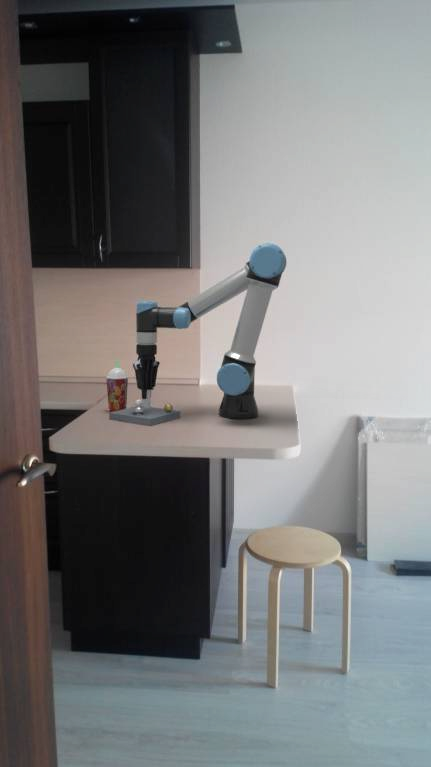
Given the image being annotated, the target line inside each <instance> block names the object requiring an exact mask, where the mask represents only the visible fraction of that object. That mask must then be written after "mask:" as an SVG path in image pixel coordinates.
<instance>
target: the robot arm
mask: <svg viewBox="0 0 431 767" xmlns="http://www.w3.org/2000/svg"><path fill="white" fill-rule="evenodd" d="M286 267H287V258H286V255H285V253H284V251H283V249H282V247H280V246H278V245H277V244H274V243H270V242H268V243H266V242H265V243H262V244H259V245H258V246H257V247H255V249H253V250H252V252H251V254H250V256H249V260H248V261H247V262H245V265H244V267H243V268H241V269H240V270H238V271H236V272H234V273H233V274H231V275H230V276H228V277H227V278H225V279H223V280H221V281H219V282H218V283H216V284H214V285H212V286H210V288H208V289H206V290H205V291H203V292H201V293H200V294H197V295H196V296H194V297H192V298H191V299H190V300H187V301H186V302H184V303H183V304H181V305H179V306H177V307H176V306H175V307H174V306H172V307H167V306H165V307H162V306H158V302H157V301H152V300H151V301H147V300H146V301H145V300H142V301H141V300H139V301H138V302H137V303H136V313H135V316H136V318H135V319H136V323H135V324H136V325H135V326H136V327H135V328H136V341H135V342H136V343H137V344H136V347H135V348H136V355H138V358H137V360H136V362H135V363H133V364H132V367H133V369H134V375H135V380H136V387H137V389H138V390H141V400H142V407H145V408H150V407H151V397H152V390H154V389H155V387H156V383H157V382H156V381H157V377H158V369H159V366H160V363H161V362H160V361H157V360H156V356H155V355H157V354H158V346H157V343H158V328H159V329H161V328H162V329H177V330H182V329H188V328H189V327H190V325H191V324H192V323H193V322H194V321H196V320H197V319H199V318H201V317H203V316H204V315H206V314H208V313H209V312H211V311H213V310H215V309H217V308H218V307H220V306H221V305H223V304H225V303H226V302H229V301H230V300H232V299H233V298H235V297H237V296H239V295H240V294H242V293H244V292H245V291H246V293H245V296H244V300H243V304H242V307H241V311H240V314H239V318H238V322H237V326H236V328H235V332H234V336H233V339H232V342H231V345H230V349H229V350H227V351H226V352H225V353H224V355H223V359H222V362H221V366H220V368H219V369H218V370H217V374H216V384H217V386H218V387H219V389H220V390H221V391H222V392H223V397H222V399H221V403H220V406H219V408H218V416H220V417H222V418H226V419H237V420H238V419H240V420H243V419H244V420H245V419H253V418H257V417H259V409H258V405H257V401H256V397H255V373H256V370H255V366H256V363H257V361H256V359H255V356H254V355H255V351H256V348H257V345H258V342H259V339H260V335H261V332H262V329H263V324H264V321H265V318H266V314H267V311H268V308H269V304H270V301H271V297H272V294H273V291H274V290H276V289H278V288H279V286H280V283H281V279H282V275H283V273H284V272H285V270H286Z"/></svg>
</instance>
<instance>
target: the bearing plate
mask: <svg viewBox="0 0 431 767" xmlns="http://www.w3.org/2000/svg"><path fill="white" fill-rule="evenodd" d="M135 408H136V406H133V407H127V408H126V409H123V410H119V411H114V412H110V411H109V413H108V414H109V415H108V416H109V417H108V418H109V420H110V421H116V420H117V421H118V422H122V421H123V422H125V423H128V422H129V424H130V423H131V424H135V425H143V426H148V427H153V426H155V425H159V424H162V423H166V422H170V421H173V420H176V419H181V410H176V409H172V411H171V412H166V411H165V409H164V408H161V407H155V406H154V407H153V406H150V408H145V407H142V408H143V413H142V414H141V415H136V414H135ZM117 421H116V422H117Z"/></svg>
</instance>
